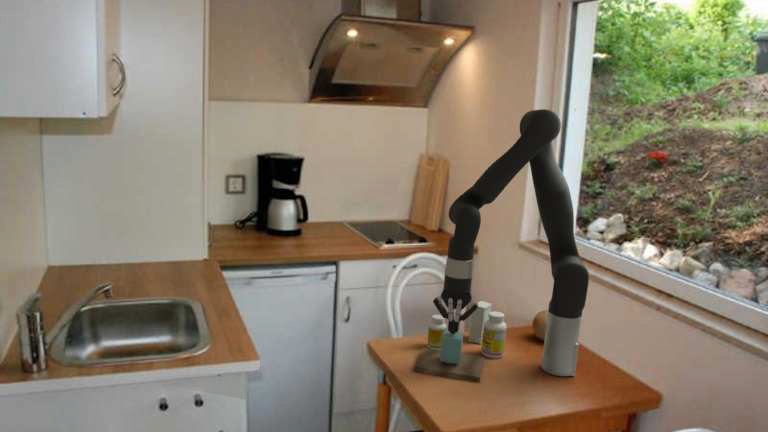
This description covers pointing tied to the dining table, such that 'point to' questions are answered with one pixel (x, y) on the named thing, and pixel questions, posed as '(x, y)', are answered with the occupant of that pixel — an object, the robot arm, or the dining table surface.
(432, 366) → the post board
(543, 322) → the onion
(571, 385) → the dining table surface
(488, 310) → the skincare box
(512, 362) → the dining table surface
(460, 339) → the aqua rectangular box
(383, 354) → the dining table surface
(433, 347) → the supplement bottle
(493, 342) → the supplement bottle
